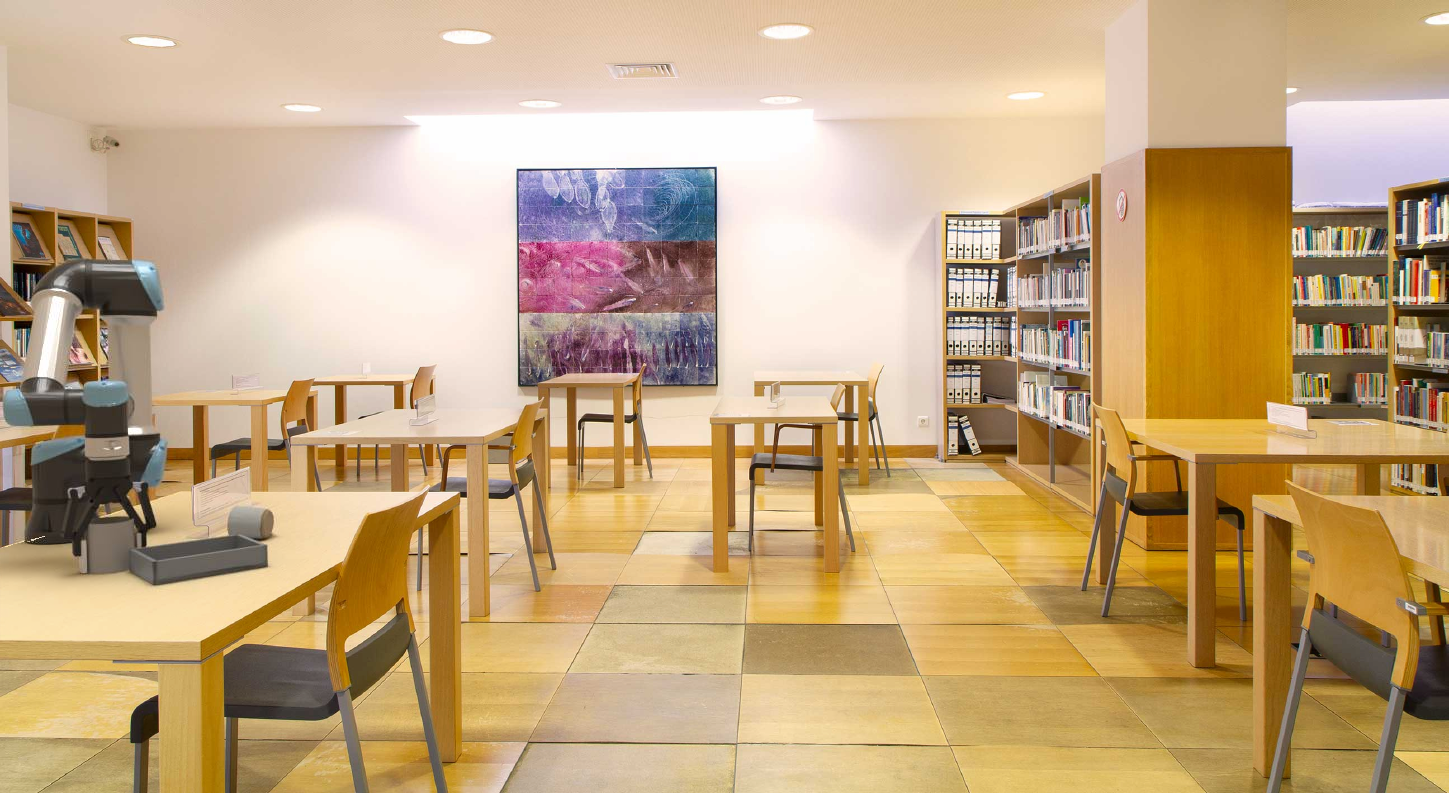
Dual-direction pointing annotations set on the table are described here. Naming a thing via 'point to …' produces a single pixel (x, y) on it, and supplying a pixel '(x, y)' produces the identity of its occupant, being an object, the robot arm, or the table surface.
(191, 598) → the table surface
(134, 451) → the robot arm
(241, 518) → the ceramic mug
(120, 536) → the cup
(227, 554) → the slate bin
